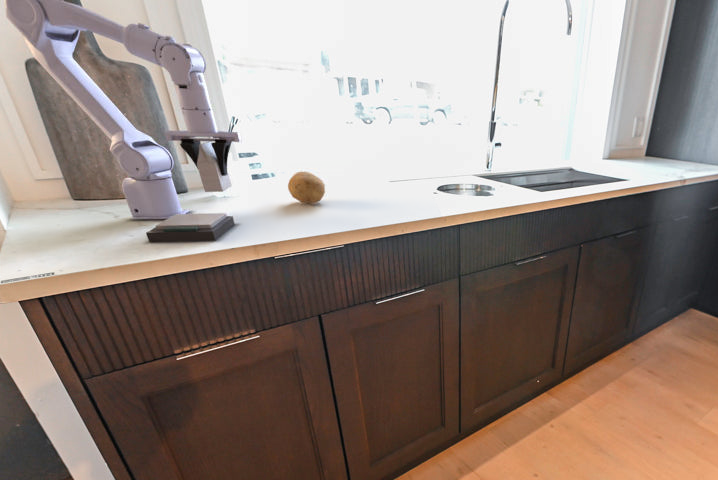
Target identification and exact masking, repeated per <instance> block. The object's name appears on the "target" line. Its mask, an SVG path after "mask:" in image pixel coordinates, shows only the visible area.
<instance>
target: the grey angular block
mask: <svg viewBox="0 0 718 480" xmlns="http://www.w3.org/2000/svg"><path fill="white" fill-rule="evenodd" d="M211 143H213V141H206V142H204V143H201V144H200V145H199V156H198V161H197V167H198V169H197V170H198V174H199V177H200V180H201V183H202V186H203V190H204V193H219V192H224V191H226V190H228V189H230V188H231V187H232V182H231V179H230V175H229V170H227V174H228V175H226V176H222V175H221V172H220V169H219V164H218V160H217V157H216V154H215V152H214V149H213V147H212V144H211ZM197 167H196V168H197Z"/></svg>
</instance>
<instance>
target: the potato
mask: <svg viewBox="0 0 718 480" xmlns="http://www.w3.org/2000/svg"><path fill="white" fill-rule="evenodd" d="M287 190H288V192H289V194H290V195H291V197H292V198H293V199H295V200H297V201H299V202H300V203H301V204H312V205H314V204H316V203H318V202H320V201H321V200H323V197H324V196H325V194H326V185H325V183H324V181H323V180H322V179H321V178H320V177H318V176H316V175H315V174H314V173H311V172H308V171H297V172H296V173H294V174H293V175H292V176H291V177H290V179H289V181H288V184H287Z"/></svg>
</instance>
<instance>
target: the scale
mask: <svg viewBox="0 0 718 480" xmlns="http://www.w3.org/2000/svg"><path fill="white" fill-rule="evenodd" d="M235 225H236V224H235V220H234V216H233V215H227V213H223V212H221V213H220V212H219V213H217V212H216V213H213V212H211V213H186V214H176V215H174V216H172V217H170V218H168V219H164V220H163V221H161V222H159V223H157V224H156V225H155V227H154V228H152V229H149V230H148V231H146V232H145V234H146V238H147V240H148V242H149V243H179V242H180V243H181V242H215V241H217V240H218V239H219V238H221V237H222V236H223V235H224V234H225V233H227V232H228V231H229V230H230V229H232V228H233V227H234V226H235Z"/></svg>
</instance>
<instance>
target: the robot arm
mask: <svg viewBox="0 0 718 480" xmlns="http://www.w3.org/2000/svg"><path fill="white" fill-rule="evenodd" d="M4 6H5V8H4V9H5V18H7V20H8V21H9V22H10V23H11V24H12V25H13V27H15V29H17V30H18V32H20V34H21V35H22V37H23V39H24V41H25V42H26V45H27V46H28V49H29V51H30V52H31V55H32V56H33V57H34V59H35V60H36V61H37V62H38V63H39V65H40V66H41V67H42V68H43V69H44V70H45V71H46V72H47V73H48V74H49V75H50V76H51V77H52V78H53V80H54V81H55V82H56V83H57V84H58V85H59V86H60V87H61V88H62V89H63V91H64V92H66V93H67V95H68V96H69V97H70V98H71V99H72V100H73V101H74V102H75V103H76V104H77V105H78V106H79V107H80V109H82V111H83V112H84V113H85V114H86V115H87V116H88V117H89V118H90V120H92V121H93V122H94V123H95V125H96V126H97V127H98V128H99V129H100V130H101V131H102V132H103V133H104V134H105V135H106V136H107V137H108V139H109V140H110V141H111V143H110V146H109V151H110V153H111V154H112V155H113V156H114V157H115V159H116V160H117V163H118V165H119V167H120V168H121V170H122V171H123V172H124V173H126V175H128V176H129V177H126V178H124V179H123V180H122V183H121V186H122V187H121V188H122V193H123V195H124V199H125V201H126V203H127V206H128V208H129V212H130V215H131V217H130V219H131V220H167V219H168V218H170V217H172V216H174V215H176V214H189V212H191V211H190V209H182V208H183V207H182V206H181V203H180V199H179V196H178V193H177V190H176V186H175V183H174V181H173V177H172V175H173V174H172V170H173V168H174V165H175V162H174V158H173V156H172V154H171V153H170V151H169V150H168V149H167V148H166V147H164V146H163V145H160V144H159V143H157V142H156V141H155V140H154V139H153V137H152V136H150V135H148V134H146V133H144V132H142V131H140V130H138V129H137V128H136V127H135V126H134V125H133V123H132V122H131V121H129V120H128V118H127V117H126V116H125V115H124V113H122V111H121V110H120V109H119V108H118V107H117V106H116V105H115V103H113V101H111V99H110V98H109V97H108V96H107V95H106V94H105V93H104V91H103V90H102V89H101V88H100V87H99V86H98V85H97V84H96V82H95V81H94V80H93V79H92V77H90V75H89V74H87V72H86V71H85V70H84V69H83V68H82V67H81V66H80V65H79V64H78V62H77V61H76V60H75V59H74V57H73V53H74V52H75V49H76V46H77V44H78V40H79V37H80V34H81V31H82V32H87V31H88V32H91V33H94V34H96V35H98V36H102V37H104V38H107V39H110V40H112V41H114V42H117V43H121V44H123V46H124V48H125V49H126V50H127V52H128V53H129V54H131V55H133V56H134V57H137V58H140V59H142V60H144V61H146V62H149V63H151V64H154V65H157V66H159V67H161V68H164V69H165V70H166V71H167V72H168V74H169V76H170V79H171V81H172V82H173V86H174V89H175V93H176V97H177V100H178V103H179V107H180V111H181V114H182V117H183V120H184V124H185V128H186V130H164V131H163V133H164V136H165V139H166V141H167V142H174V141H180V143H179V145H180V148H181V149H183V151H184V152H185V153H186V154H187V156H189V158H190V159H191V161H192V162H193V163H194V165H195V167H196V169H197V170H198V167H197V161H198V156H199V145H200V144H202V143H201V142H212V143H211V144H212V147H213V149H214V152H215V154H216V157H217V160H218V164H219V169H220V172H221V175H222V176H226V175H229V173H228V174H227V171H228V157H229V153H230V149H231V142H234V143H241V142H243V140H242V136H241V132H239V131H221V130H219V131H218V128H217V123H216V120H215V116H214V111H213V108H212V104H211V101H210V97H209V91H208V88H207V84H206V81H205V77H204V73H205V72H206V69H207V63H206V59H205V57H204V56H203V54H202V53H201V51H199V49H197V48H195V47H194V46H192V45H191V44H189V43H178V42H177V41H176V39H175V38H174V37H173V36H170V35H165V36H164V35H162V34H160V33H158V32H155V31H153V30H150V26H149V25H147V24H145V23H141V22H137V23H129V24H126V25H122V24H120V23H118V22H116V21H114V20H112V19H110V18H107V17H105V16H103V15H101V14H99V13H97V12H94V11H92V10H90V9H89V8H85V7H84V6H81V5H78V4H75V3H72V2H68V1H65V0H4Z"/></svg>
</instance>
